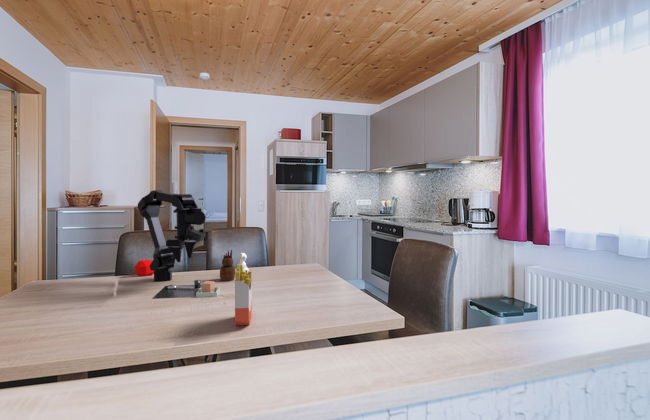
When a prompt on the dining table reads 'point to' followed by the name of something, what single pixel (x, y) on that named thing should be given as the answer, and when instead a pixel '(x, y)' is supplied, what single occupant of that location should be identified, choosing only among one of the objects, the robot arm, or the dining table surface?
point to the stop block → (208, 286)
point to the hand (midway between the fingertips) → (184, 260)
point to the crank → (196, 287)
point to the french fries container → (243, 296)
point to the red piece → (143, 268)
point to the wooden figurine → (227, 268)
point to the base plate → (176, 292)
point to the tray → (210, 294)
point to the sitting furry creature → (242, 262)
